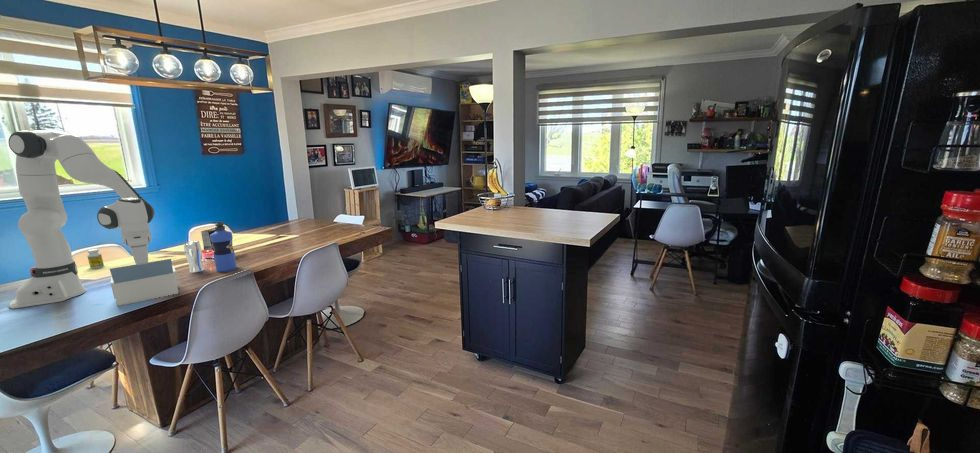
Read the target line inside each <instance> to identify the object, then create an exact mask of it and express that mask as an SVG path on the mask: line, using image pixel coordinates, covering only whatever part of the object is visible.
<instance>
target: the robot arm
mask: <svg viewBox="0 0 980 453" xmlns="http://www.w3.org/2000/svg"><path fill="white" fill-rule="evenodd" d="M8 146H9V149H10V151H12V153H14V154H15V155H16V158H15V171H16V172H15V173H16V178H17V179H16V180H17V186H18V191H19V195H20V197H22V199H23V202H24V204H25V207H26V209H27V211H26V212H24V213H23V214H21V216H20V218H19V219H18V222H17V228H18V230H19V231H20V232H21V233H22V234H23V237H24V239H25V241H26V242H27V244H28V245H29V247H30V249H31V253H32V256H33V259H34V260H33V261H34V263H35V266H32V267H31V268H30V269H29V271H30V272H29V273H30V276H31V278H29V279H28V280H27V281H26V282H24V283H22V285H20V286H19V287H18V288H17V290H16V291H15V299H13V300H11V301H10V302H9V304H8V305H9V308H10V309H13V310H14V309H19V308H27V307H33V306H40V305H46V304H53V303H58V302H59V303H60V302H63V301H66V300H68V299H71V298H74V297H78V296H80V295H83V294H85V293H86V292H87V289H86V288H85V287H84V285H83V283H82V282H81V280H80V277H79V275H78V274H79V272H78V266H77V264H76V262H75V261H74V258H73V255H72V250H71V246H70V243H69V242H68V241H67V239H66V237H65V235H64V234H63V231H62V228H63V227H64V226H65V225H66V223H67V221H68V214H67V212H66V210H65V205H64V203H63V200H62V196H61V195H60V188H59V182H58V176H57V175H58V174H57V169H56V161H58V163H59V164H60V166H62V169H63V170H64V171H65V172H66V174H67V175H68V176H69V177H71V179H73V180H75V181H78V182H82V183H86V184H93V185H99V186H104V187H106V188H109V189H111V190H113V191H114V192H115V193H116V194H117V195H118V196H119V198H118V199H116V200H115V202H113V203H111V204H109V205H105V206H102V207H101V208H100V209H99V210H98V211H97V215H96V217H97V221H98V224H100V225H101V227H103V228H105V229H108V230H115V229H116V230H117V229H120V232H121V239H122V243H123V244H124V245H126V246H127V247H128V248H129V250H130V252H131V254H132V257H133V260H134V263H135V265H143V264H147V263H148V262H149V245H150V242H151V241H152V240H153V238H152V233H151V229H150V228H151V227H150V226H149V223H150V222H152V220H153V218H154V217H155V210H154V207H153V206H152V205H151V204H150V203H149V202H148V201H146V200H145V199H144V198H143V197H142V196H141V195H140V194H139V193H138V192H137V191H136V190H135V189H134V187H132V185H131V184H130V183H129V182H128V181H127V180H126V179H125V177H123V175H122V174H121V173H119V172H118V171H117V170H115V169H113V168H110V167H109V166H108V165H107V164H105V163H104V162H103V161H101V159H100V158H99V157H98V156H97V154H96V153H95V151H94V150H93V149H92V147H91V146H90V145H88V143H86V141H85V140H84V139H83V138H82V136H80V135H79V134H76V133H73V132H69V131H57V130H19V131H14V132H13V133H11V135H10V136H9V138H8Z"/></svg>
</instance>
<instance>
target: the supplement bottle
mask: <svg viewBox="0 0 980 453" xmlns="http://www.w3.org/2000/svg"><path fill="white" fill-rule="evenodd" d="M87 253H88V254H87V260H88V264H89V267H90V269H99V268H102V267H104V266H105V264H104V260H103V256H102V255H103V254H102V253H101V252H99V248H92V249H88V250H87Z"/></svg>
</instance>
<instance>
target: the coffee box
mask: <svg viewBox="0 0 980 453" xmlns="http://www.w3.org/2000/svg"><path fill="white" fill-rule="evenodd" d="M215 231H216V230H215V227H213V228H209V229H205V230H201V231H200V233H201V238H202V240H201V241H202V246H203V251H204V250H213V251H214V248H213V245H212V242H211V238H210V235H211V234H212V233H214V232H215Z"/></svg>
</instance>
